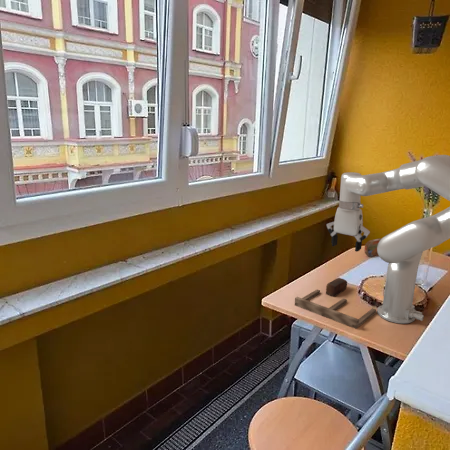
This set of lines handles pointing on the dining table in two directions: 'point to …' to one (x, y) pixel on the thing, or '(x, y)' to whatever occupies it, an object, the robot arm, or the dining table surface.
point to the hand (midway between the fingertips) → (345, 248)
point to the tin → (372, 248)
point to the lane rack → (332, 310)
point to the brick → (336, 287)
